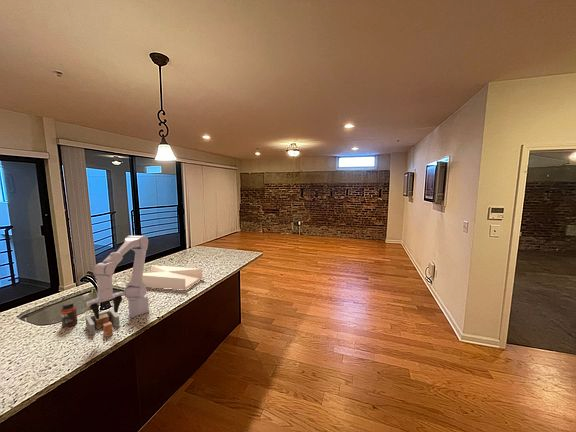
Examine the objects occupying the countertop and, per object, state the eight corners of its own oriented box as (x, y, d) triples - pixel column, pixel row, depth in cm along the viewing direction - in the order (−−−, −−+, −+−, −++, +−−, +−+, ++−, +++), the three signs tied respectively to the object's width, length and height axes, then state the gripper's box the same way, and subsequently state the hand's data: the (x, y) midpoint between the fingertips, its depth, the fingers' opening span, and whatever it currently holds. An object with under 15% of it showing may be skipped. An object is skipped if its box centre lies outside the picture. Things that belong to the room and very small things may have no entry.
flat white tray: (202, 280, 191) (202, 268, 190) (185, 291, 169) (185, 278, 168) (151, 276, 199) (151, 265, 198) (129, 286, 177) (128, 274, 176)
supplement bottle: (76, 320, 130) (74, 299, 129) (78, 324, 127) (77, 303, 126) (61, 324, 126) (59, 303, 125) (63, 328, 122) (61, 307, 121)
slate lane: (113, 317, 133) (112, 308, 133) (119, 325, 126) (118, 316, 125) (86, 326, 125) (85, 316, 124) (91, 335, 117) (90, 325, 116)
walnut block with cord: (106, 321, 130) (106, 312, 129) (115, 332, 119) (114, 322, 119) (95, 325, 126) (94, 315, 125) (102, 337, 115) (101, 327, 115)
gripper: (118, 281, 124) (120, 307, 126) (82, 291, 112) (85, 319, 114) (125, 284, 120) (126, 310, 122) (88, 294, 108) (91, 323, 110)
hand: (106, 315), depth 117 cm, fingers open, 7 cm apart
